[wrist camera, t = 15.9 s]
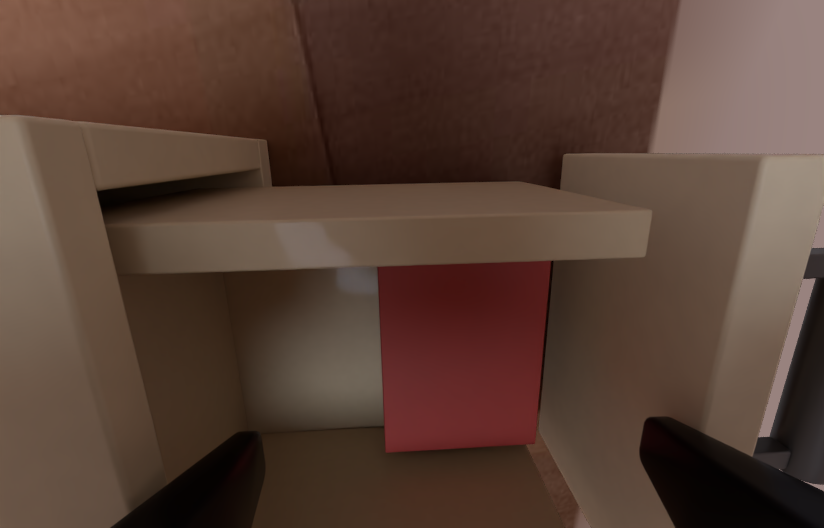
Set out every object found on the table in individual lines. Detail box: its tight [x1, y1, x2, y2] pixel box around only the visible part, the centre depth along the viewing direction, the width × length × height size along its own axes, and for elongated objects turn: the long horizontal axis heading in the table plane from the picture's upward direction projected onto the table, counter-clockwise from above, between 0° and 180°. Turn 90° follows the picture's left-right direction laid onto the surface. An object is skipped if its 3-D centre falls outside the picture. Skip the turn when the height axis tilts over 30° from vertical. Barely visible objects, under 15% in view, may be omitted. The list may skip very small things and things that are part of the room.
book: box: [377, 261, 551, 453], centre depth 12 cm, size 4×6×2 cm
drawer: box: [100, 153, 824, 528], centre depth 10 cm, size 18×11×7 cm, turn 91°
